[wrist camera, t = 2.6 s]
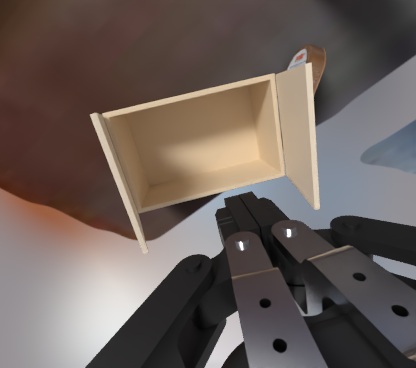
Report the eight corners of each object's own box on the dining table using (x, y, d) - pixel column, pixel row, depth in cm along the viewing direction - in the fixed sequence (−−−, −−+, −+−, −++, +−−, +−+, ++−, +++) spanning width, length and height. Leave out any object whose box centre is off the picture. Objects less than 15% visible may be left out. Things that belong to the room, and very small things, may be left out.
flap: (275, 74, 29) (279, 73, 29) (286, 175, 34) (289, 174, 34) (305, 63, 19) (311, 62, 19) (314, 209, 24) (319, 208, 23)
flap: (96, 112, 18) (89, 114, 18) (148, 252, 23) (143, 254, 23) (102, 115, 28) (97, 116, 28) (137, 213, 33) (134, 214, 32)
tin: (275, 143, 43) (297, 151, 35) (259, 139, 42) (278, 146, 34) (305, 55, 38) (339, 42, 30) (289, 49, 38) (318, 34, 30)
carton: (250, 80, 38) (274, 73, 29) (262, 160, 43) (285, 175, 34) (121, 111, 38) (102, 113, 28) (147, 189, 42) (138, 213, 33)
